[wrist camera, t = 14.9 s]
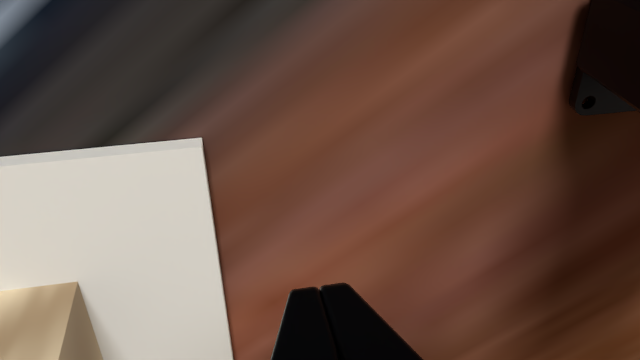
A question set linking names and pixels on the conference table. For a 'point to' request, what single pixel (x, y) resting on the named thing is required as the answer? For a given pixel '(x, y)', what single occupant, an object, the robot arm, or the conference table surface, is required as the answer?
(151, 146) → the mat
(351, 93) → the conference table surface
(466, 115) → the conference table surface
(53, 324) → the maple block
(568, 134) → the conference table surface
